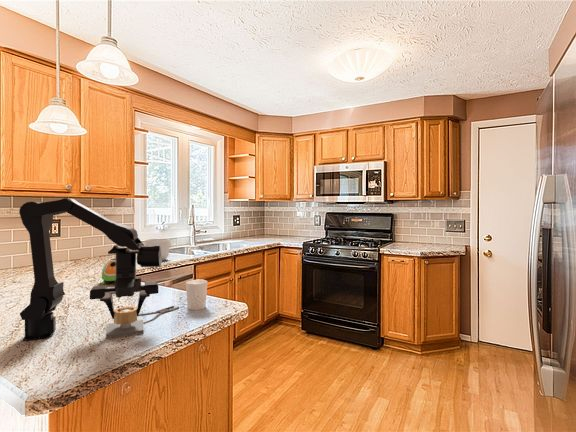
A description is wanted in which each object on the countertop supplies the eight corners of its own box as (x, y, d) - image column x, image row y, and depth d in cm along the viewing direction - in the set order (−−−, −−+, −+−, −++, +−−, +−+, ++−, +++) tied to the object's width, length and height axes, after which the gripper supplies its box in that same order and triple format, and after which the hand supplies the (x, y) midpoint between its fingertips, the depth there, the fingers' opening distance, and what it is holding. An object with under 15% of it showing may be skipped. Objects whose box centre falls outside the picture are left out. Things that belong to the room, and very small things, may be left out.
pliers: (118, 320, 107) (159, 303, 126) (118, 323, 107) (159, 306, 126) (142, 324, 104) (180, 306, 123) (142, 326, 104) (180, 308, 123)
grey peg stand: (106, 338, 93) (106, 318, 93) (108, 326, 103) (108, 308, 102) (143, 333, 98) (143, 313, 98) (143, 322, 107) (143, 304, 107)
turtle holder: (133, 277, 177) (133, 255, 177) (125, 284, 160) (125, 260, 159) (108, 278, 174) (108, 256, 174) (97, 285, 156) (97, 261, 156)
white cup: (198, 311, 119) (199, 284, 119) (181, 309, 122) (181, 283, 121) (211, 305, 126) (211, 280, 126) (194, 303, 129) (194, 278, 129)
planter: (174, 260, 233) (174, 239, 233) (150, 263, 221) (150, 241, 221) (163, 258, 245) (163, 238, 245) (140, 260, 233) (140, 239, 233)
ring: (113, 325, 96) (113, 313, 96) (114, 318, 102) (114, 307, 101) (136, 322, 98) (136, 311, 98) (137, 316, 104) (137, 305, 104)
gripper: (87, 274, 88) (86, 330, 89) (159, 270, 96) (159, 321, 97) (92, 267, 99) (92, 318, 99) (157, 264, 106) (157, 310, 107)
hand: (125, 317), depth 100 cm, fingers closed on ring, 6 cm apart
